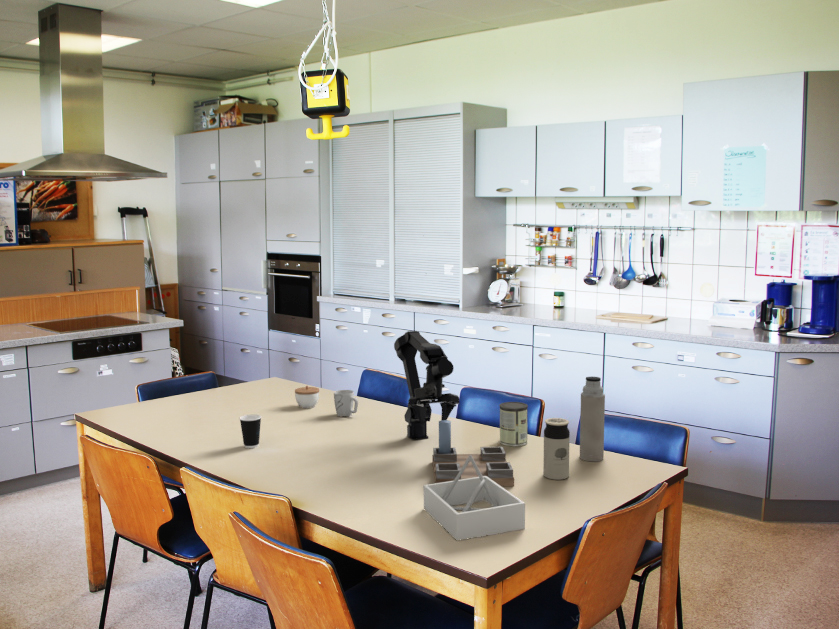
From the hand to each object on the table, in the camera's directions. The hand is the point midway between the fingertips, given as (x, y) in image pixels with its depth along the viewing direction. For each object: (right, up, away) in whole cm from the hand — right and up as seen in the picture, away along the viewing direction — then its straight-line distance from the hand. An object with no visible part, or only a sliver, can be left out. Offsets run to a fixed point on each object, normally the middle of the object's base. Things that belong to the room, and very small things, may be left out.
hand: (432, 425), depth 249 cm
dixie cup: (-66, -10, +14) cm, 68 cm away
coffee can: (+30, -9, +16) cm, 35 cm away
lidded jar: (-54, -3, +72) cm, 90 cm away
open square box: (+10, -17, -52) cm, 56 cm away
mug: (-35, -5, +56) cm, 66 cm away
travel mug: (+39, -13, -20) cm, 46 cm away
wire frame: (+8, -18, -51) cm, 54 cm away
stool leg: (+4, -10, -9) cm, 14 cm away
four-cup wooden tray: (+12, -13, -17) cm, 24 cm away
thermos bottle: (+54, -11, -2) cm, 56 cm away
